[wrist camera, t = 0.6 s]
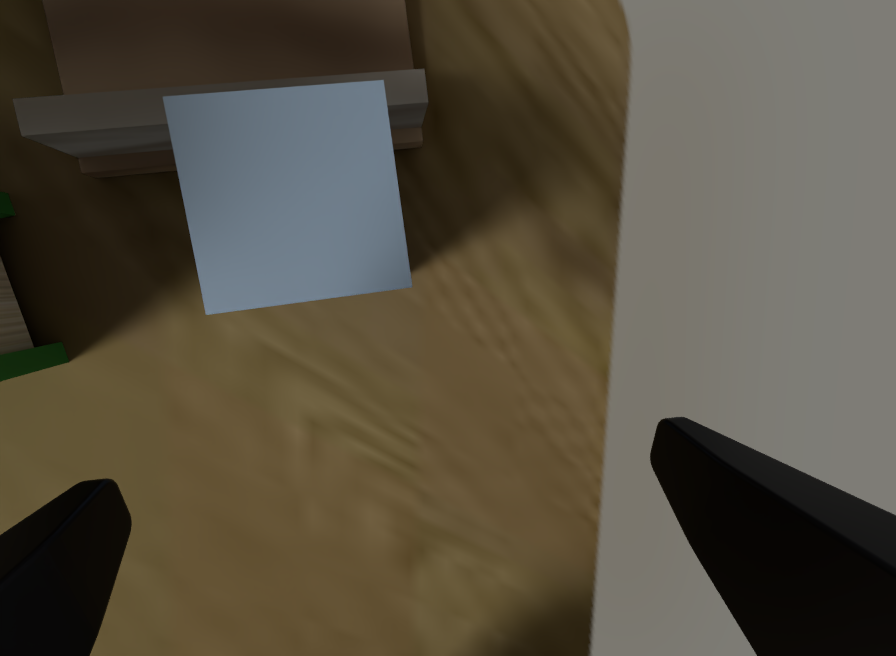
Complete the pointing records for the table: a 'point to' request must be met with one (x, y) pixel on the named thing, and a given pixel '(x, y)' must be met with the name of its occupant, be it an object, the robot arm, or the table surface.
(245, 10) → the wooden display stand
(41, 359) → the hardback book
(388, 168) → the blue-grey rectangular block
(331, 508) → the table surface
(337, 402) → the table surface
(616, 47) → the table surface
